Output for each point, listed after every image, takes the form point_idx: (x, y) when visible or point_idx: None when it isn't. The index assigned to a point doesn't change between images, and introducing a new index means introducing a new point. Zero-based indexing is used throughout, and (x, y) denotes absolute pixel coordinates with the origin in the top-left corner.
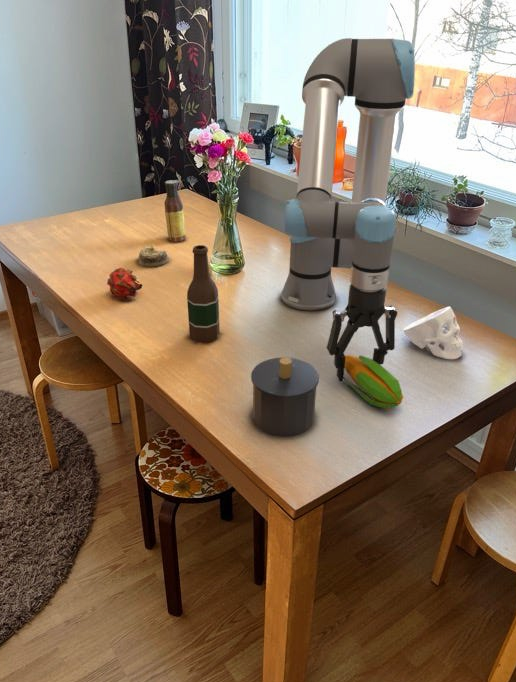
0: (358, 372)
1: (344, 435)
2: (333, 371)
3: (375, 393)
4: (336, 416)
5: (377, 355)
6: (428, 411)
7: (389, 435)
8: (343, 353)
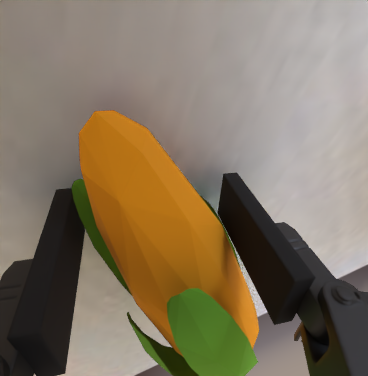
0: (138, 332)
1: (74, 356)
2: (48, 99)
3: (171, 359)
4: None
5: (271, 314)
6: None
7: None
8: (50, 350)
